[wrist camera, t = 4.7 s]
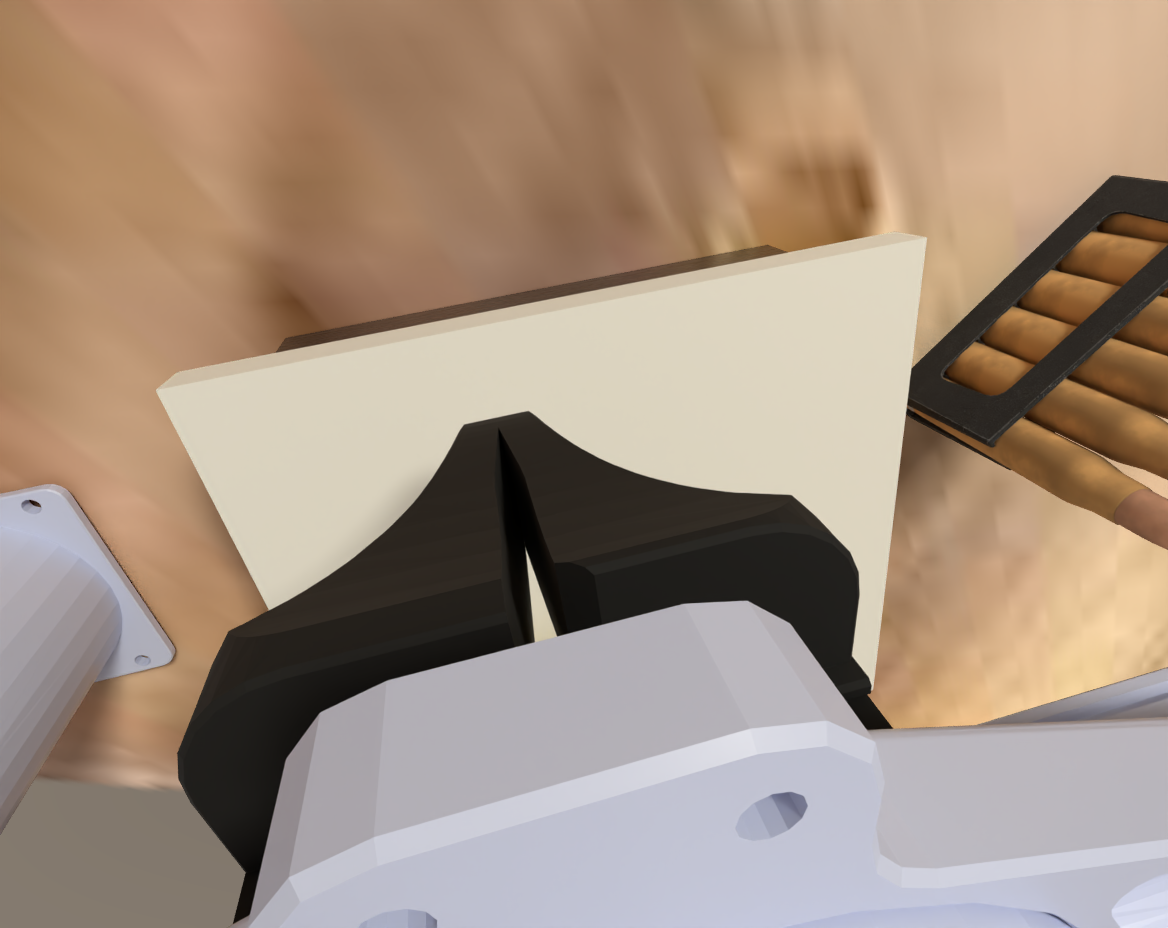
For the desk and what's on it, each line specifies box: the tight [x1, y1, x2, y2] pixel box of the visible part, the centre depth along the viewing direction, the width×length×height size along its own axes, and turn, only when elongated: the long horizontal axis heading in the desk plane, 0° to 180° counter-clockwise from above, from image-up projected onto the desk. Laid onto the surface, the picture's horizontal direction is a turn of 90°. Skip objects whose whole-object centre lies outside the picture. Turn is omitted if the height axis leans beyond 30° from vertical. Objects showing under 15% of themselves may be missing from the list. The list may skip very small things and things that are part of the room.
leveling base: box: [276, 245, 789, 353], centre depth 21 cm, size 16×14×5 cm
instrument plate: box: [156, 232, 927, 690], centre depth 17 cm, size 18×16×5 cm
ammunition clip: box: [906, 175, 1168, 550], centre depth 19 cm, size 11×2×12 cm, turn 138°
